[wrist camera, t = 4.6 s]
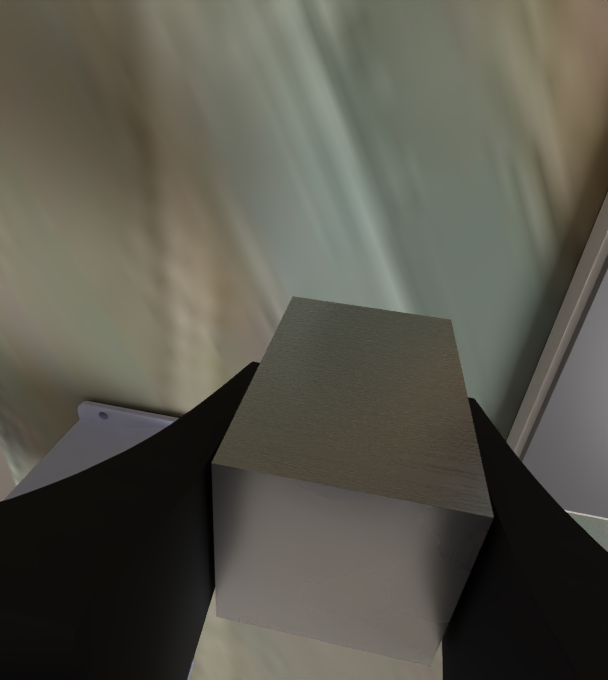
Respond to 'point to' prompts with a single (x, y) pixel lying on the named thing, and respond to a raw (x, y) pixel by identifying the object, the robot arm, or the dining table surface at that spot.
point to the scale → (572, 392)
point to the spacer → (351, 483)
